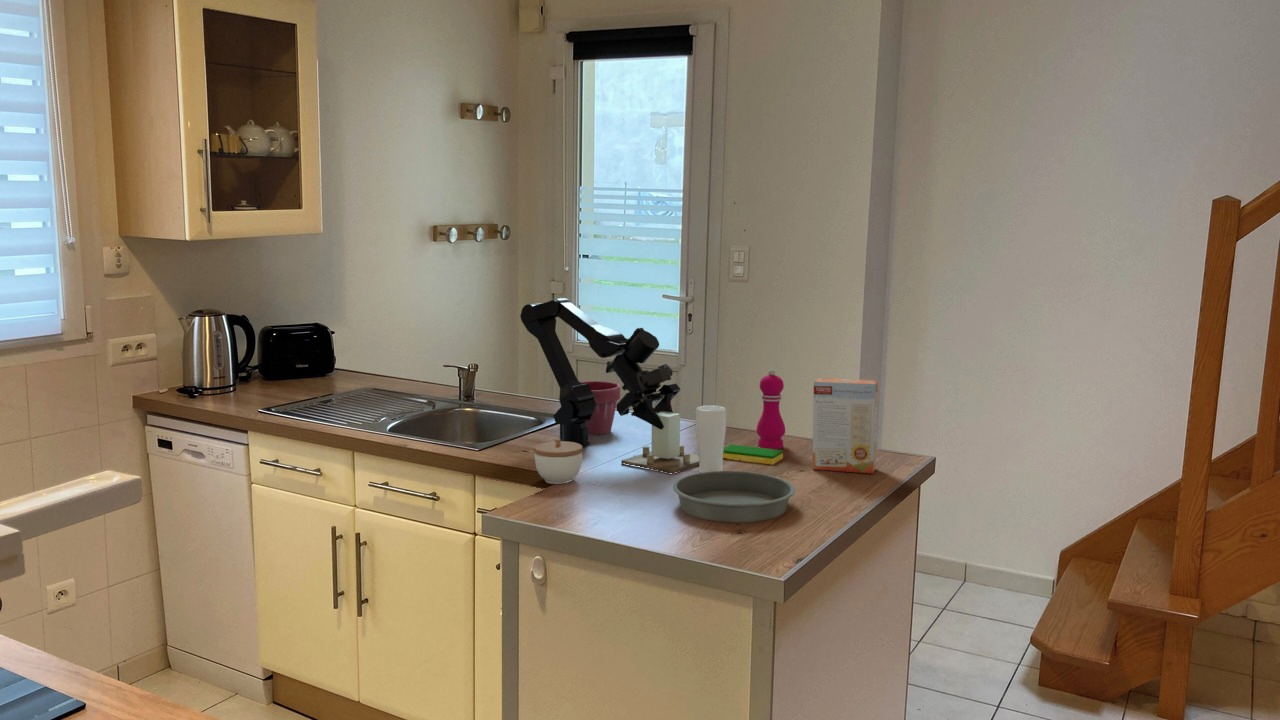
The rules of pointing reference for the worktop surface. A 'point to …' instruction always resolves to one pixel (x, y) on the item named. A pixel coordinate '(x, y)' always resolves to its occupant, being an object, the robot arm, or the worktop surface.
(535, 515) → the worktop surface
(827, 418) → the cracker box
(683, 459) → the peg stand
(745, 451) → the dish sponge
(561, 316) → the robot arm
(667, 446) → the sage block
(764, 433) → the pepper mill
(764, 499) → the cake pan
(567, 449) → the lidded jar
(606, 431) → the plant pot
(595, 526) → the worktop surface
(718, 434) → the drinking glass
